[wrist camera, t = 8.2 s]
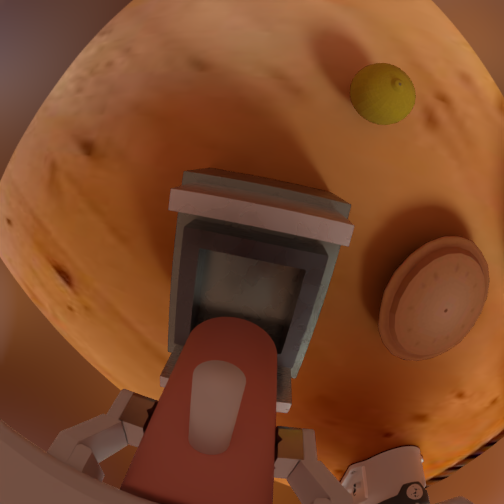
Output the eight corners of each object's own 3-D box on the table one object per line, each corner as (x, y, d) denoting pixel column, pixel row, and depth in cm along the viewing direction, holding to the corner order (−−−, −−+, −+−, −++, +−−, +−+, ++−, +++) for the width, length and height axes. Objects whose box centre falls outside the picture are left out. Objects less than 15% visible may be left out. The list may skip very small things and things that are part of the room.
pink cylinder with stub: (266, 393, 15) (253, 549, 6) (184, 375, 15) (127, 521, 6) (301, 276, 12) (334, 489, 3) (195, 255, 13) (67, 427, 3)
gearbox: (284, 357, 33) (284, 443, 21) (187, 337, 33) (151, 415, 21) (330, 192, 27) (373, 219, 14) (209, 167, 27) (155, 175, 14)
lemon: (373, 139, 25) (407, 133, 17) (330, 102, 24) (350, 81, 16) (402, 104, 23) (441, 89, 15) (361, 67, 22) (389, 38, 15)
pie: (461, 205, 25) (487, 214, 21) (478, 309, 29) (496, 327, 24) (350, 264, 29) (363, 283, 24) (386, 361, 32) (397, 386, 28)
